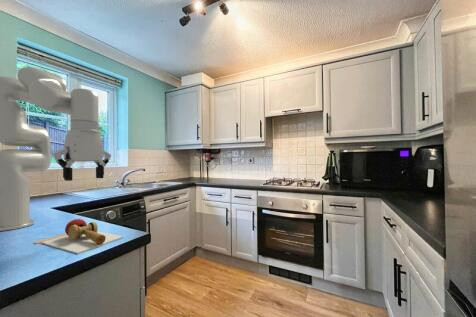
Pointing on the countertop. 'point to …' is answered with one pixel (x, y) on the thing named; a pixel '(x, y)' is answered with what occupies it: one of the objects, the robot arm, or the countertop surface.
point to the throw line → (49, 239)
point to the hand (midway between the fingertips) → (84, 179)
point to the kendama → (84, 230)
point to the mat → (79, 242)
